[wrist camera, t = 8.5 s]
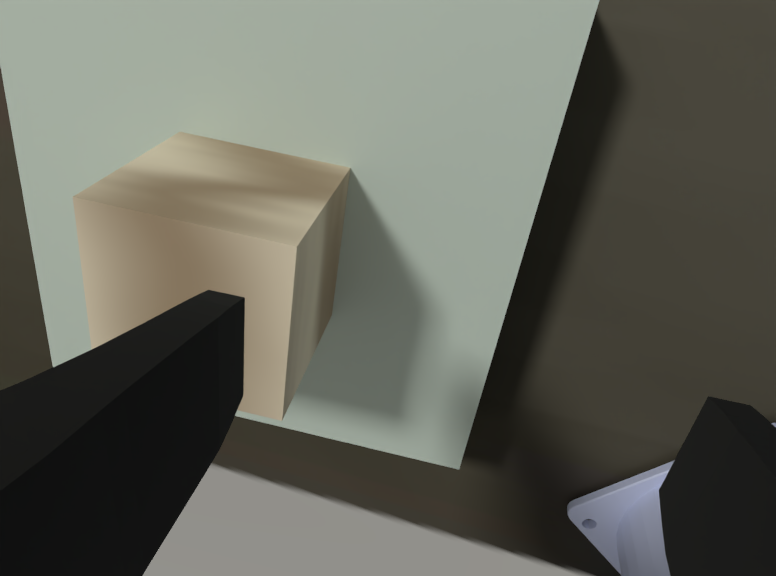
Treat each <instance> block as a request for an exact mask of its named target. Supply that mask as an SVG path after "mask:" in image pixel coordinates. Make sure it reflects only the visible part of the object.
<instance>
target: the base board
mask: <svg viewBox="0 0 776 576" xmlns="http://www.w3.org/2000/svg"><path fill="white" fill-rule="evenodd" d="M598 3H599V0H0V66H1V72H2V77H3V83H4V89H5V95H6V100H7V106H8V112H9V118H10V123H11V129H12V135H13V141H14V146H15V152H16V158H17V164H18V169H19V175H20V181H21V186H22V192H23V198H24V204H25V209H26V215H27V221H28V227H29V232H30V238H31V244H32V250H33V255H34V261H35V267H36V273H37V278H38V284H39V290H40V295H41V301H42V307H43V313H44V318H45V324H46V330H47V336H48V341H49V347H50V353H51V359H52V364H53V367H55V366H57V365H59V364H62V363H64V362H66V361H68V360H70V359H72V358H74V357H77V356H79V355H81V354H83V353H85V352H87V351H90V350H92V349H91V341H90V333H89V325H88V316H87V308H86V300H85V292H84V284H83V276H82V268H81V260H80V252H79V244H78V236H77V228H76V220H75V212H74V204H73V196H75V195H76V194H78V193H80V192H81V191H83V190H85V189H86V188H88V187H90V186H91V185H93V184H94V183H96V182H98V181H99V180H101V179H103V178H104V177H106V176H108V175H109V174H111V173H113V172H114V171H116V170H117V169H119V168H121V167H122V166H124V165H126V164H127V163H129V162H131V161H132V160H134V159H136V158H137V157H139V156H141V155H142V154H144V153H145V152H147V151H149V150H150V149H152V148H154V147H155V146H157V145H159V144H160V143H162V142H164V141H165V140H167V139H168V138H170V137H172V136H173V135H175V134H177V133H178V132H184V133H188V134H193V135H198V136H203V137H207V138H212V139H217V140H222V141H226V142H231V143H236V144H240V145H245V146H250V147H255V148H259V149H264V150H269V151H274V152H278V153H283V154H288V155H293V156H297V157H302V158H307V159H312V160H316V161H321V162H326V163H330V164H335V165H340V166H345V167H349V168H351V169H350V176H349V184H348V192H347V200H346V208H345V216H344V224H343V232H342V239H341V247H340V255H339V263H338V271H337V279H336V287H335V295H334V303H333V310H332V316H331V318H330V320H329V322H328V324H327V327H326V329H325V331H324V333H323V335H322V337H321V339H320V341H319V344H318V346H317V348H316V350H315V352H314V354H313V356H312V358H311V361H310V363H309V365H308V367H307V369H306V371H305V373H304V375H303V378H302V380H301V382H300V384H299V386H298V388H297V390H296V393H295V395H294V397H293V399H292V401H291V403H290V405H289V407H288V410H287V412H286V414H285V416H284V418H283V420H282V421H280V420H276V419H272V418H268V417H263V416H259V415H255V414H251V413H247V412H243V411H239V410H237V412H236V414H235V416H238V417H242V418H247V419H251V420H255V421H259V422H263V423H267V424H272V425H276V426H280V427H284V428H288V429H292V430H296V431H301V432H305V433H309V434H313V435H317V436H321V437H326V438H330V439H334V440H338V441H342V442H346V443H351V444H355V445H359V446H363V447H367V448H371V449H376V450H380V451H384V452H388V453H392V454H396V455H401V456H405V457H409V458H413V459H417V460H421V461H426V462H430V463H434V464H438V465H442V466H446V467H451V468H455V469H459V468H460V465H461V461H462V458H463V455H464V451H465V448H466V444H467V441H468V438H469V434H470V431H471V428H472V424H473V421H474V418H475V414H476V411H477V408H478V404H479V401H480V398H481V394H482V391H483V388H484V384H485V381H486V378H487V374H488V371H489V368H490V364H491V361H492V358H493V354H494V351H495V348H496V344H497V341H498V337H499V334H500V331H501V327H502V324H503V321H504V317H505V314H506V311H507V307H508V304H509V301H510V297H511V294H512V291H513V287H514V284H515V281H516V277H517V274H518V271H519V267H520V264H521V261H522V257H523V254H524V251H525V247H526V244H527V241H528V237H529V234H530V231H531V227H532V224H533V220H534V217H535V214H536V210H537V207H538V204H539V200H540V197H541V194H542V190H543V187H544V184H545V180H546V177H547V174H548V170H549V167H550V164H551V160H552V157H553V154H554V150H555V147H556V144H557V140H558V137H559V134H560V130H561V127H562V124H563V120H564V117H565V114H566V110H567V107H568V103H569V100H570V97H571V93H572V90H573V87H574V83H575V80H576V77H577V73H578V70H579V67H580V63H581V60H582V57H583V53H584V50H585V47H586V43H587V40H588V37H589V33H590V30H591V27H592V23H593V20H594V17H595V13H596V10H597V7H598Z"/></svg>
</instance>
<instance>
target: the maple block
mask: <svg viewBox="0 0 776 576" xmlns="http://www.w3.org/2000/svg"><path fill="white" fill-rule="evenodd" d="M350 169H351V168H349V167H345V166H340V165H335V164H330V163H326V162H321V161H316V160H312V159H307V158H302V157H297V156H293V155H288V154H283V153H278V152H274V151H269V150H264V149H259V148H255V147H250V146H245V145H240V144H236V143H231V142H226V141H222V140H217V139H212V138H207V137H203V136H198V135H193V134H188V133H184V132H178V133H177V134H175V135H173V136H172V137H170V138H168V139H167V140H165V141H164V142H162V143H160V144H159V145H157V146H155V147H154V148H152V149H150V150H149V151H147V152H145V153H144V154H142V155H141V156H139V157H137V158H136V159H134V160H132V161H131V162H129V163H127V164H126V165H124V166H122V167H121V168H119V169H117V170H116V171H114V172H113V173H111V174H109V175H108V176H106V177H104V178H103V179H101V180H99V181H98V182H96V183H94V184H93V185H91V186H90V187H88V188H86V189H85V190H83V191H81V192H80V193H78V194H76V195H75V196H73V204H74V212H75V220H76V228H77V236H78V244H79V252H80V260H81V268H82V276H83V284H84V292H85V300H86V308H87V316H88V325H89V333H90V341H91V349H94V348H96V347H98V346H100V345H102V344H104V343H106V342H108V341H110V340H112V339H114V338H115V337H117V336H119V335H121V334H123V333H125V332H127V331H129V330H131V329H133V328H135V327H137V326H139V325H141V324H143V323H145V322H146V321H148V320H150V319H152V318H154V317H156V316H158V315H160V314H162V313H163V312H165V311H167V310H169V309H171V308H173V307H175V306H177V305H178V304H180V303H182V302H184V301H186V300H188V299H190V298H192V297H194V296H196V295H198V294H200V293H202V292H205V291H207V290H212V291H217V292H222V293H226V294H231V295H236V296H240V297H245V324H244V391H243V398H242V400H241V403H240V405H239V407H238V409H237V410H239V411H243V412H247V413H251V414H255V415H259V416H263V417H268V418H272V419H276V420H280V421H282V420H283V418H284V416H285V414H286V412H287V410H288V407H289V405H290V403H291V401H292V399H293V397H294V395H295V393H296V390H297V388H298V386H299V384H300V382H301V380H302V378H303V375H304V373H305V371H306V369H307V367H308V365H309V363H310V361H311V358H312V356H313V354H314V352H315V350H316V348H317V346H318V344H319V341H320V339H321V337H322V335H323V333H324V331H325V329H326V327H327V324H328V322H329V320H330V318H331V316H332V310H333V303H334V295H335V287H336V279H337V271H338V263H339V255H340V247H341V239H342V232H343V224H344V216H345V208H346V200H347V192H348V184H349V176H350Z"/></svg>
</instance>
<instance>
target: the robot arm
mask: <svg viewBox="0 0 776 576" xmlns="http://www.w3.org/2000/svg"><path fill="white" fill-rule="evenodd" d="M244 324H245V297H240V296H236V295H231V294H226V293H222V292H217V291H212V290H207V291H205V292H202V293H200V294H198V295H196V296H194V297H192V298H190V299H188V300H186V301H184V302H182V303H180V304H178V305H177V306H175V307H173V308H171V309H169V310H167V311H165V312H163V313H162V314H160V315H158V316H156V317H154V318H152V319H150V320H148V321H146V322H145V323H143V324H141V325H139V326H137V327H135V328H133V329H131V330H129V331H127V332H125V333H123V334H121V335H119V336H117V337H115V338H114V339H112V340H110V341H108V342H106V343H104V344H102V345H100V346H98V347H96V348H94V349H92V350H90V351H87V352H85V353H83V354H81V355H79V356H77V357H74V358H72V359H70V360H68V361H66V362H64V363H62V364H59V365H57V366H55V367H53V368H51V369H49V370H47V371H44V372H42V373H40V374H38V375H36V376H34V377H31V378H29V379H27V380H25V381H22V382H20V383H18V384H15V385H13V386H11V387H8V388H6V389H3V390H1V391H0V576H142V575H143V574H144V572H145V570H146V568H147V567H148V565H149V563H150V562H151V560H152V559H153V557H154V555H155V554H156V552H157V551H158V549H159V547H160V546H161V544H162V542H163V541H164V539H165V538H166V536H167V534H168V533H169V531H170V530H171V528H172V526H173V525H174V523H175V521H176V520H177V518H178V517H179V515H180V513H181V512H182V510H183V509H184V507H185V505H186V503H187V502H188V500H189V498H190V497H191V496H192V494H193V492H194V491H195V489H196V487H197V486H198V484H199V482H200V481H201V479H202V478H203V476H204V474H205V473H206V471H207V469H208V468H209V466H210V464H211V463H212V461H213V459H214V458H215V456H216V454H217V453H218V451H219V449H220V447H221V445H222V443H223V441H224V438H225V436H226V434H227V432H228V430H229V428H230V426H231V423H232V421H233V419H234V416H235V414H236V412H237V409H238V407H239V405H240V403H241V400H242V398H243V391H244ZM567 513H568V517H569V519H570V520H571V521H572V522H573V523H574V524H575V525H576V526H577V528H578V529H579V530H580V531H581V532H582V533H583V534H584V535H585V536H586V537H587V539H588V540H589V541H590V542H591V543H592V544H593V545H594V546H595V547H596V548H597V549H598V551H599V552H600V553H601V554H602V555H603V556H604V557H605V558H606V559H607V560H608V562H609V563H610V564H611V565H612V566H613V567H614V568H615V569H616V570H617V571H618V572H619V574H620V575H621V576H776V423H770V422H769V421H768V420H767V419H766V418H765V417H764V416H762V415H761V414H760V413H759V412H758V411H757V410H755V409H754V408H753V407H752V406H750V405H746V404H741V403H736V402H732V401H727V400H722V399H718V398H713V397H708V398H707V400H706V402H705V404H704V406H703V407H702V409H701V411H700V413H699V415H698V417H697V419H696V421H695V423H694V425H693V426H692V428H691V430H690V432H689V434H688V436H687V438H686V440H685V442H684V443H683V445H682V447H681V449H680V451H679V453H678V455H677V457H676V459H675V460H674V461H672V462H669V463H667V464H664V465H661V466H659V467H656V468H654V469H651V470H649V471H646V472H643V473H641V474H638V475H636V476H633V477H631V478H628V479H626V480H623V481H620V482H618V483H615V484H613V485H610V486H608V487H605V488H602V489H600V490H597V491H595V492H592V493H590V494H587V495H585V496H582V497H579V498H577V499H574V500H572V501H571V502H569V504H568V505H567ZM585 519H592V520H585Z"/></svg>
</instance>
